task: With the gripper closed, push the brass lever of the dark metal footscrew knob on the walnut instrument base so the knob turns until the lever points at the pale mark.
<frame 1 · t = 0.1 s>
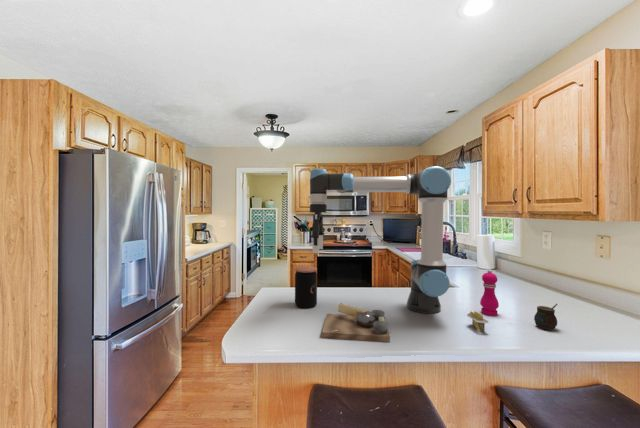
hand: (317, 251, 129), 28 cm above the counter, tool pointing down, fingers open, 13 cm apart
coffee jar: (305, 305, 139), on the counter
footscrew knob: (355, 314, 114), point 5 cm above the counter, hinge at -35.0°
instrument base: (355, 329, 111), on the counter
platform: (476, 330, 112), on the counter
pepper mill: (489, 313, 129), on the counter
mate gourd: (545, 328, 114), on the counter
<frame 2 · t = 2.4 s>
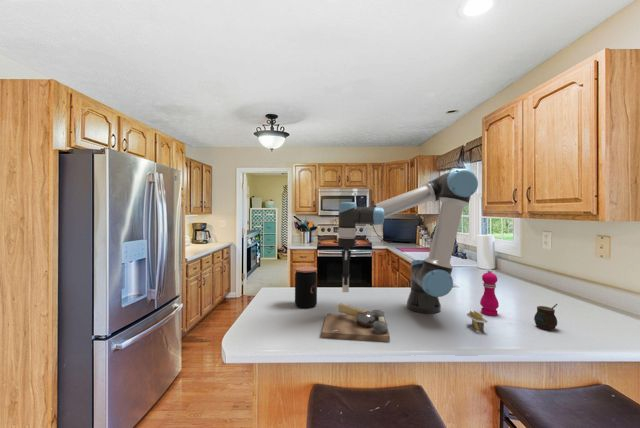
hand: (345, 291, 125), 11 cm above the counter, tool pointing down, fingers closed
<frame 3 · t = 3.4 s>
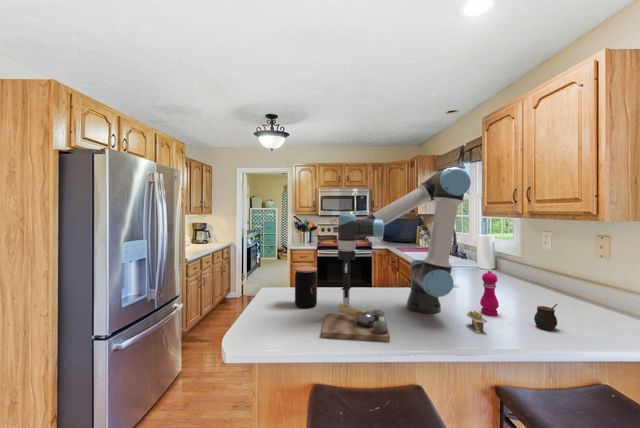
hand: (346, 304, 124), 5 cm above the counter, tool pointing down, fingers closed
nothing on the counter moved.
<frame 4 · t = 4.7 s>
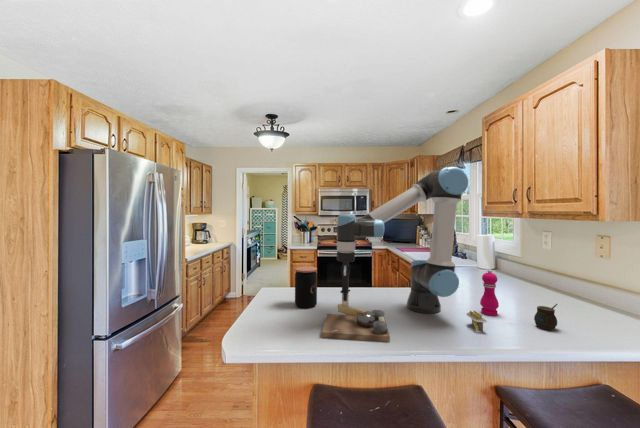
hand: (345, 307, 120), 6 cm above the counter, tool pointing down, fingers closed
footscrew knob: (355, 314, 114), point 5 cm above the counter, hinge at -33.0°, touching gripper
everything else where it was.
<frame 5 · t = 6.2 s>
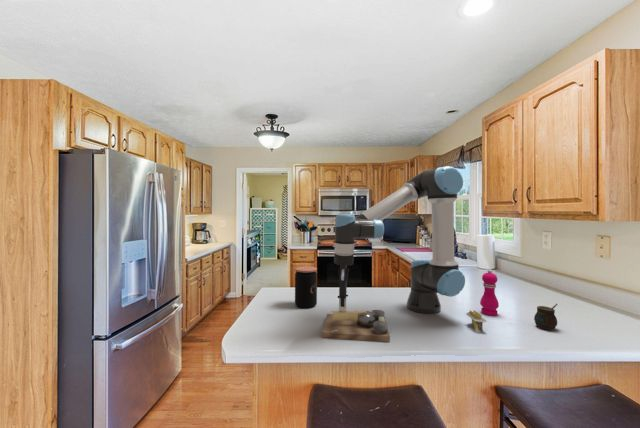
hand: (342, 313, 112), 6 cm above the counter, tool pointing down, fingers closed
footscrew knob: (353, 317, 110), point 5 cm above the counter, hinge at 10.9°, touching gripper
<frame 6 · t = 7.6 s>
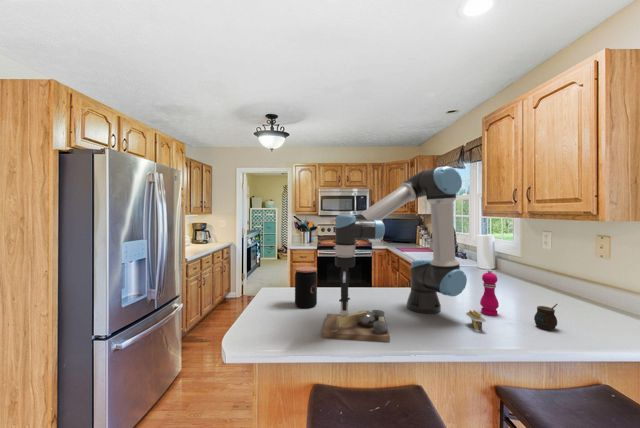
hand: (344, 317, 108), 5 cm above the counter, tool pointing down, fingers closed
footscrew knob: (356, 319, 108), point 5 cm above the counter, hinge at 37.3°, touching gripper
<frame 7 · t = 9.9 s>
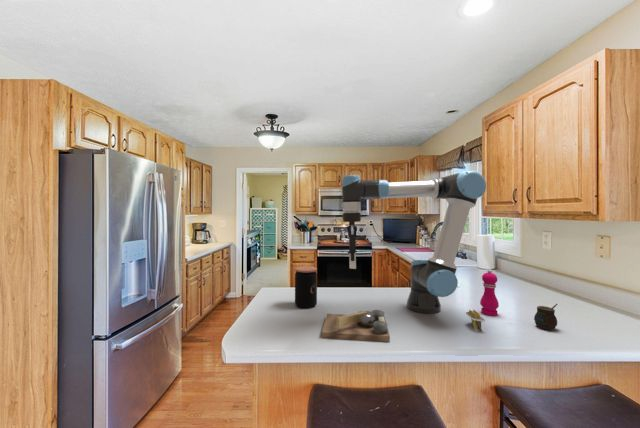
hand: (352, 268, 121), 22 cm above the counter, tool pointing down, fingers closed
footscrew knob: (356, 319, 108), point 5 cm above the counter, hinge at 37.6°
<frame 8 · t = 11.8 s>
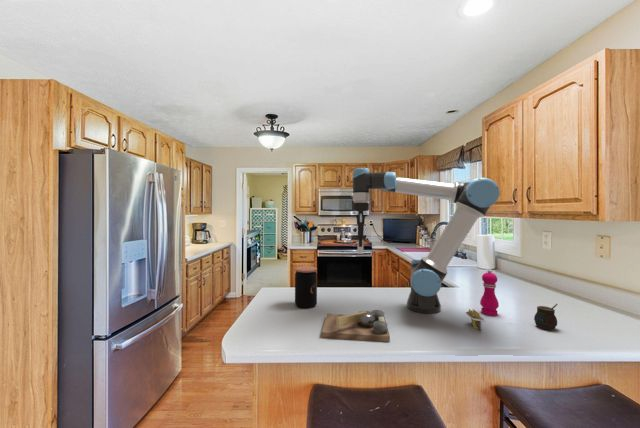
hand: (360, 253, 132), 26 cm above the counter, tool pointing down, fingers closed
at the end: footscrew knob at +38° (first picture: -35°) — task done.
